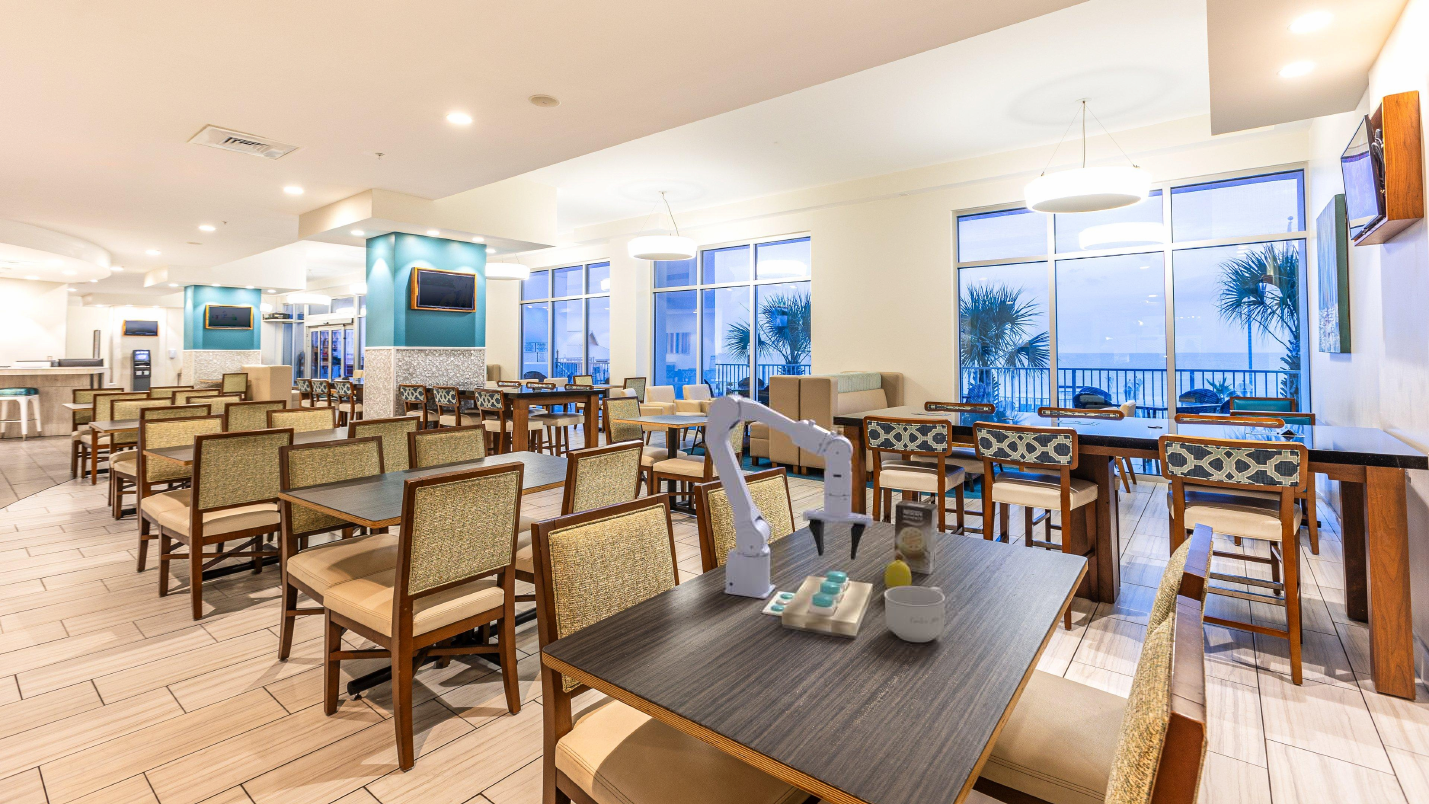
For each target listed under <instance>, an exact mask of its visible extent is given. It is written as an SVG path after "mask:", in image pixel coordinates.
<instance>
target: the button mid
mask: <svg viewBox="0 0 1429 804" xmlns="http://www.w3.org/2000/svg"><path fill="white" fill-rule="evenodd" d="M818 593H825V594H829V595H831V596H833V600H835V601H836V603H840V602H841V600H842V598H843V589H841V588H840V585H839V584H838V583H835V582H822V583H821V584H820V589H819V591H818V592H817V594H818Z"/></svg>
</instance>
